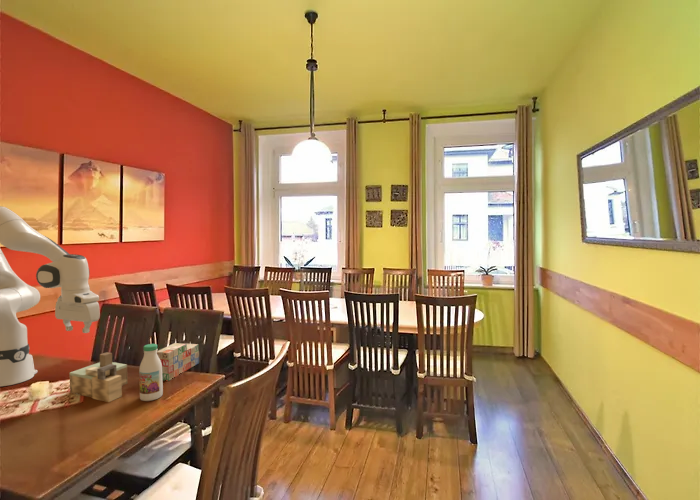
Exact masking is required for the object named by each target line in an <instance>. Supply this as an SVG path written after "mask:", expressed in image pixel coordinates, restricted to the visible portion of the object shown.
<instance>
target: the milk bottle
mask: <svg viewBox="0 0 700 500" xmlns="http://www.w3.org/2000/svg"><path fill="white" fill-rule="evenodd" d="M157 351H158V344H156V343H148V344H145V345H143V353H144V354H143V358H142V360H141V362H140V364H139V371H138V374H139V376H138V377H139V378H138V379H139V381H138V383H139V385H138V386H139V399H140V401H143V402H150V401H155V400H157V399H159V398H161V397H162V396H163V393H164V389H163V388H164V385H163V384H164V383H163V381H164V380H163V379H162V363H161V361H160V359H159V357H158V355H157Z"/></svg>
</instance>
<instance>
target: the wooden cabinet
mask: <svg viewBox="0 0 700 500" xmlns="http://www.w3.org/2000/svg"><path fill="white" fill-rule="evenodd" d="M107 370H110V375H108V376H105V371H107ZM97 374H98V377H97V376H95V377H93V378H92V379H87V378H82V377H77V376H71V375H70V374H69V392H70V394H74V395H79V396H83V397H87V398H92V399H93V400H97V401H102V402H106V403H111V402H113V401H115V400H117V399H119V398H122V396H123V391H122V390H123V389H122V388H123V387H122V386H125V385H127V384H128V366H127V367H125V368H123V369H120V370H118V371H116V365H113V364H109V365H107V366H104V367H101V368H98V369H97Z"/></svg>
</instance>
